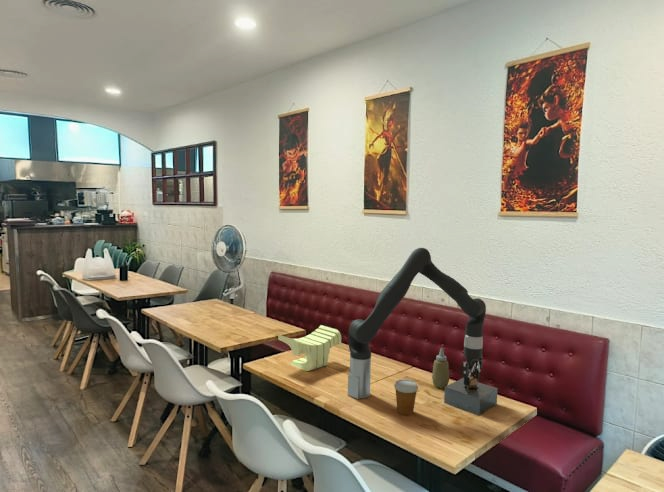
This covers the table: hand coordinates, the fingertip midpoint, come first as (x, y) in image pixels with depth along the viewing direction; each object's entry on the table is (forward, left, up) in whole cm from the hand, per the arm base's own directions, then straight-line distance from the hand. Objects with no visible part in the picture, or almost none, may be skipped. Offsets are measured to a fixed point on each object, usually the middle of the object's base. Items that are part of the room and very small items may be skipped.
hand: (471, 382), depth 186 cm
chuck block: (0, 0, -9) cm, 9 cm away
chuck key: (0, 0, -9) cm, 9 cm away
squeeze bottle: (+7, +19, -9) cm, 22 cm away
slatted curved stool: (-21, +80, -9) cm, 83 cm away
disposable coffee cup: (-28, +14, -9) cm, 33 cm away
